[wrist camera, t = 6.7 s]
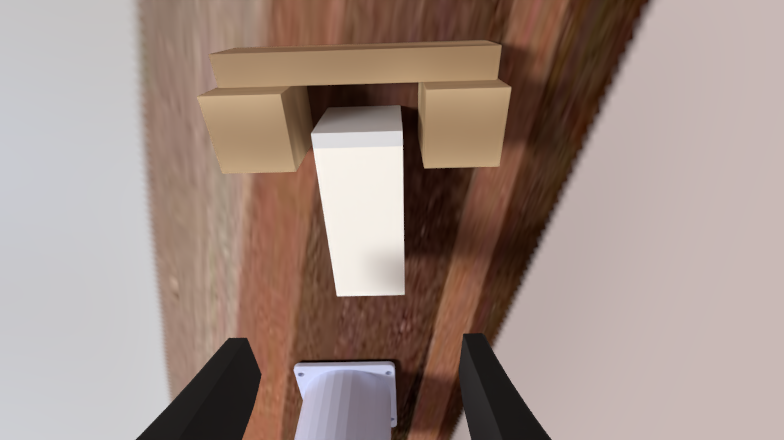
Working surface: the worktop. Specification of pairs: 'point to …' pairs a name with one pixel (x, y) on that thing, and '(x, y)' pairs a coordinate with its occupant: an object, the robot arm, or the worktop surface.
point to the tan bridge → (355, 66)
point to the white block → (363, 197)
